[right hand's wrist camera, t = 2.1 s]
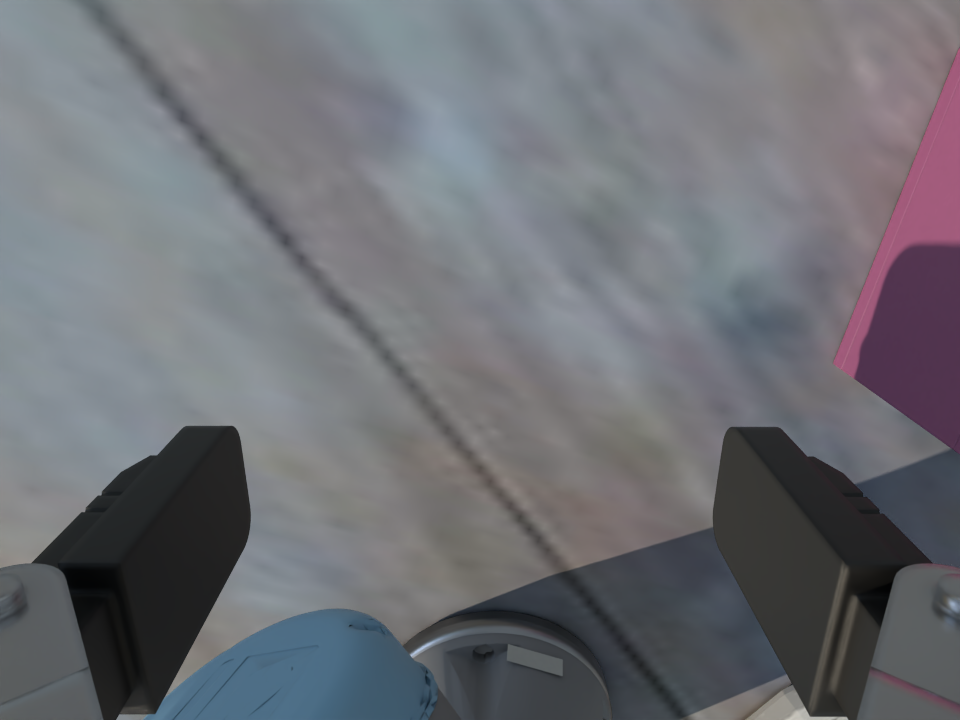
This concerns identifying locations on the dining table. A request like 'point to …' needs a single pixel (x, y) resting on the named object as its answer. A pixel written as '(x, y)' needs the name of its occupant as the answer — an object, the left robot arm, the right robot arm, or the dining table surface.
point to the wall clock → (786, 708)
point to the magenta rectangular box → (917, 288)
